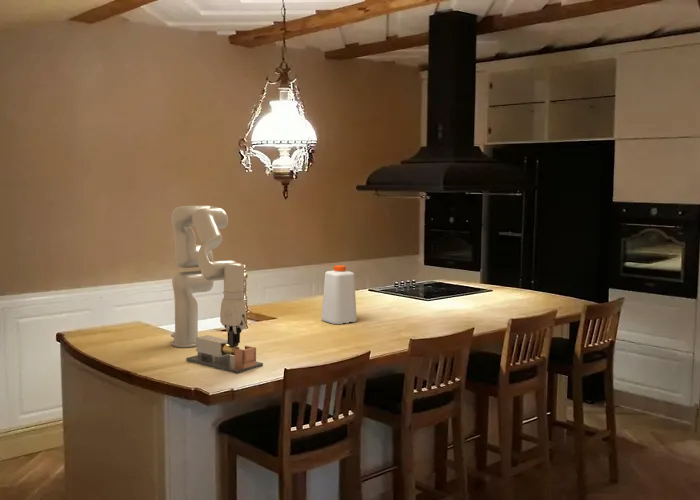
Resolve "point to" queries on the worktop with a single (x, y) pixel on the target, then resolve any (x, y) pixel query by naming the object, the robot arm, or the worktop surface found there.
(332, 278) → the plastic bottle
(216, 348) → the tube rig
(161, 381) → the worktop surface
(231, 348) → the sliding bolt with handle
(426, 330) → the worktop surface
